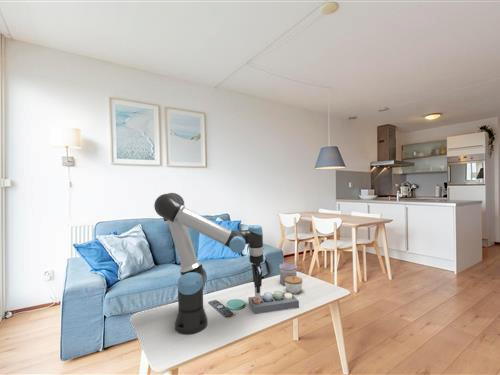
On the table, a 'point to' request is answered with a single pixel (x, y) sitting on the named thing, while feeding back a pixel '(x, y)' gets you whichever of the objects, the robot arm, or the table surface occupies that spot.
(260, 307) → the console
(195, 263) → the robot arm
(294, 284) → the lidded jar
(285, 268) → the can
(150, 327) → the table surface
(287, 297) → the cream button
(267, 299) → the pale blue button
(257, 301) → the terracotta button
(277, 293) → the sage button
